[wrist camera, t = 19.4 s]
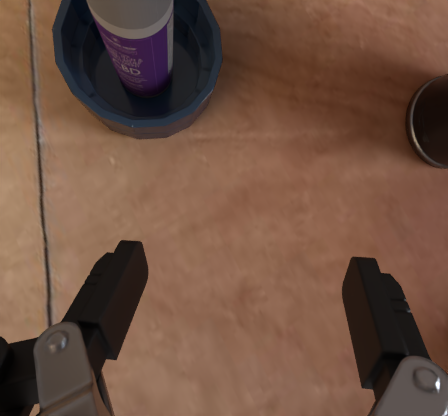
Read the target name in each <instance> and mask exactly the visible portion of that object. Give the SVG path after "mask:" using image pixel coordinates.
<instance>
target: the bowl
mask: <svg viewBox="0 0 448 416" xmlns="http://www.w3.org/2000/svg"><path fill="white" fill-rule="evenodd" d="M52 32H53V42H54V52H55V61H56V65H57V66H58V68H59V70H60V72H61V74H62V76H63V77H64V79H65V81H66V83H67V85H68V87H69V88H70V90H71V92H72V94H73V95H74V96H75V97H76V98H77V99H78V100H79V101H80V103H81V104H82V105H83V106H84V107H85V108H86V109H87V110H88V111H89V112H90V113H91V114H92V115H93V116H95V117H96V118H97V119H98V120H99V121H101V122H102V123H103V124H104V125H105V126H106V127H108V128H109V129H110V130H112V131H115V132H118V133H121V134H124V135H127V136H130V137H133V138H136V139H154V138H167V137H169V136H171V135H173V134H175V133H177V132H179V131H181V130H183V129H186V128H188V127H190V126H191V125H192V124H193V122H194V121H195V120H196V119H197V118H198V117H199V115H200V114H201V113H202V112H203V111H204V110H205V108H206V107H207V106H208V103H209V100H210V98H211V95H212V92H213V90H214V87H215V83H216V80H217V77H218V74H219V71H220V67H221V64H222V60H223V58H222V46H221V35H220V28H219V26H218V24H217V22H216V20H215V18H214V16H213V14H212V11H211V9H210V7H209V5H208V3H207V1H206V0H173V73H172V80H171V83H170V85H169V87H168V88H167V89H166V91H164V92H163V93H162V94H160V95H159V96H156V97H153V98H141V97H138V96H135V95H133V94H131V93H130V92H129V91H127V90H126V89H125V88H124V86H123V85H122V83H121V81H120V79H119V77H118V75H117V72H116V70H115V68H114V65H113V63H112V61H111V58H110V56H109V54H108V51H107V49H106V47H105V44H104V42H103V39H102V37H101V35H100V32H99V30H98V28H97V25H96V23H95V21H94V18H93V16H92V14H91V11H90V9H89V6H88V3H87V0H62V1H61V4H60V7H59V10H58V13H57V16H56V19H55V22H54V25H53V29H52Z"/></svg>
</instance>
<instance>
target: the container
mask: <svg viewBox="0 0 448 416" xmlns="http://www.w3.org/2000/svg"><path fill="white" fill-rule="evenodd" d="M87 3H88V6H89V9H90V11H91V14H92V16H93V18H94V21H95V23H96V25H97V28H98V30H99V32H100V35H101V37H102V39H103V42H104V44H105V47H106V49H107V51H108V54H109V56H110V58H111V61H112V63H113V65H114V68H115V70H116V72H117V75H118V77H119V79H120V81H121V83H122V85H123V86H124V88H125V89H126V90H127V91H129V92H130V93H131V94H133V95H135V96H138V97H141V98H153V97H156V96H159V95H160V94H162V93H163V92H164V91H166V89H167V88H168V87H169V85H170V83H171V80H172V73H173V0H87Z"/></svg>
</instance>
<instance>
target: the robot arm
mask: <svg viewBox="0 0 448 416" xmlns="http://www.w3.org/2000/svg"><path fill="white" fill-rule="evenodd" d="M406 131H407V135H408V139H409V141H410V144H411V146H412V147H413V149H414V151H415V152H416V153H417V155H418V156H419V157H420V158H421V159H422V160H424V161H425V162H426V163H428V164H430V165H432V166H434V167H438V168H444V169H448V74H446V75H444V76H440V77H437V78H435V79H433V80H431V81H429V82H427V83H425V84H424V85H422V86H421V87H420V88H419V89H418V90H417V91H416V92H415V94H414V95H413V97H412V99H411V101H410V103H409V106H408V109H407V114H406ZM147 279H148V265H147V261H146V256H145V252H144V248H143V244H142V242H140V241H127V240H121V241H120V242H119V244H118V246H117V247H116V249H115V251H114V253H108V252H107V253H106V254H105V255H104V256H103V257H101V258H100V259H99V260H98V261H97V262H96V263H95V265H94V267H93V269H92V270H91V272H90V275H88V277H87V279H86V281H85V284H83V286H82V287H81V289H80V291H79V292H78V294H77V296H76V298H75V299H74V301H73V303H72V304H71V306H70V308H69V310H68V311H67V313H66V315H65V316H64V318H63V320H62V321H61V322H60V323H57V324H55V325H53V326H51V327H49V328H48V329H46V330H45V331H44V332H43V333H42V334H41V335H40V336H39V337H37V338H33V339H29V340H24V341H19V342H14V343H10V344H8V343H7V342H6V340H5V339H4V338H2V337H0V416H29V415H30V412H31V410H32V408H33V406H34V404H38V403H39V405H40V412H39V414H37V415H36V416H115V415H114V411H113V408H112V404H111V401H110V397H109V393H108V390H107V386H106V383H105V379H104V376H103V372H102V367H103V365H104V363H105V360H106V359H111V360H117V357H118V355H119V352H120V350H121V347H122V345H123V342H124V339H125V337H126V334H127V332H128V329H129V327H130V324H131V321H132V319H133V316H134V314H135V311H136V309H137V306H138V303H139V301H140V298H141V296H142V293H143V291H144V288H145V285H146V283H147ZM342 298H343V303H344V308H345V312H346V317H347V321H348V326H349V331H350V335H351V340H352V345H353V349H354V354H355V359H356V363H357V368H358V372H359V377H360V382H361V386H362V388H365V389H373V391H374V395H375V399H376V401H375V402H374V404H373V406H372V408H371V410H370V412H369V413H368V415H367V416H448V375H447V374H446V372H445V371H444V370H443V369H442V368H441V367H439V366H438V365H437V364H436V363H434V362H432V360H431V358H430V357H429V354H428V352H427V350H426V347H425V345H424V342H423V340H422V337H421V335H420V332H419V330H418V327H417V325H416V322H415V320H414V318H413V315H412V313H411V312H410V308H409V305H408V303H407V302H406V298H405V295H404V293H403V290H402V288H401V286H400V285H399V283H398V282H397V281H396V280H395V279H394V278H393V277H392V276H391V274H386V273H381V272H380V269H379V266H378V264H377V261H376V259H375V258H366V257H352V258H351V260H350V263H349V266H348V269H347V272H346V275H345V278H344V281H343V286H342Z"/></svg>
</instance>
